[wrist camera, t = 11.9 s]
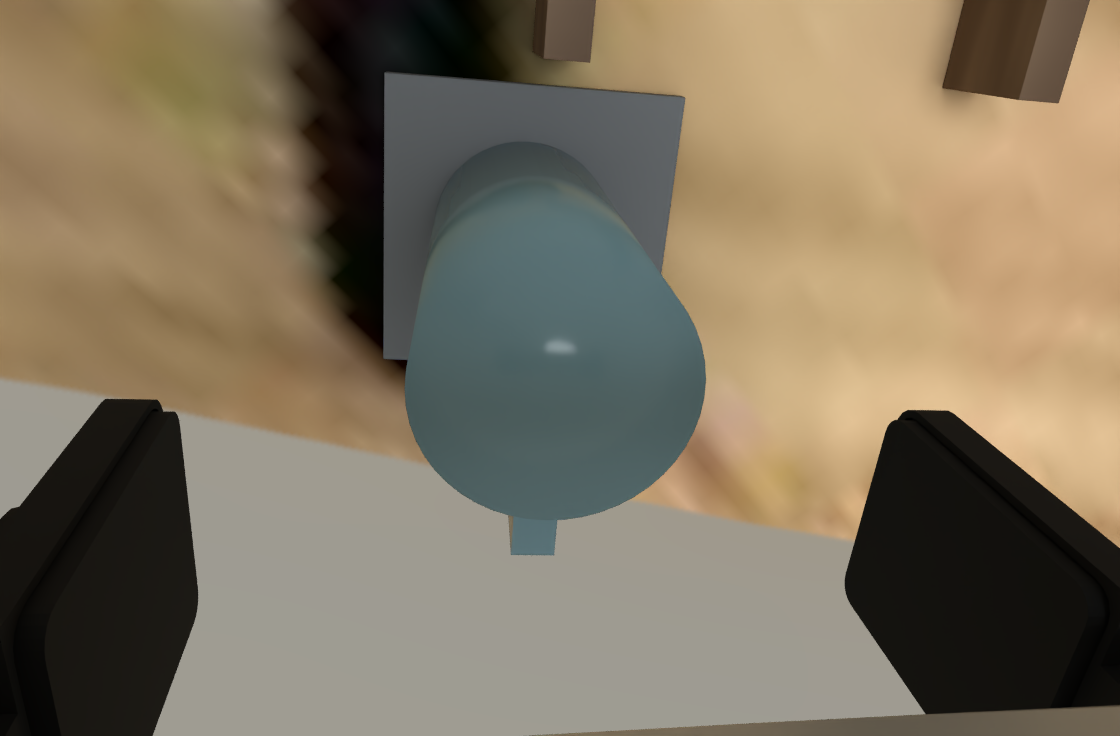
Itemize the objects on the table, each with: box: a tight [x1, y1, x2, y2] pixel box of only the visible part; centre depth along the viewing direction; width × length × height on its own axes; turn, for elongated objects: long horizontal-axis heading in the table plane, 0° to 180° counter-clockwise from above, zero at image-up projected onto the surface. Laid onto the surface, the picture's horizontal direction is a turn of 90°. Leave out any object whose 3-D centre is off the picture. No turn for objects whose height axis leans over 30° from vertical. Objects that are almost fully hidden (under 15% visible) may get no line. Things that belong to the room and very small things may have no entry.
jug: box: [405, 142, 706, 555], centre depth 21 cm, size 8×6×12 cm
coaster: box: [383, 72, 685, 360], centre depth 27 cm, size 9×9×1 cm
